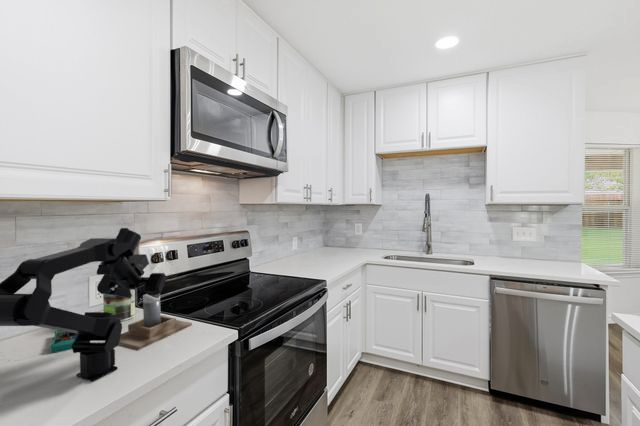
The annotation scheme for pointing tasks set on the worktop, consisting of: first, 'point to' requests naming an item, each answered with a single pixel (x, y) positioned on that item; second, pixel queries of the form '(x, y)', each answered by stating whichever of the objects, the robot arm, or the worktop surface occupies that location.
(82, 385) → the worktop surface
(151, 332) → the dock
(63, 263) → the robot arm
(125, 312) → the coffee can
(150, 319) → the grey upright cylinder
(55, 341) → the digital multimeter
